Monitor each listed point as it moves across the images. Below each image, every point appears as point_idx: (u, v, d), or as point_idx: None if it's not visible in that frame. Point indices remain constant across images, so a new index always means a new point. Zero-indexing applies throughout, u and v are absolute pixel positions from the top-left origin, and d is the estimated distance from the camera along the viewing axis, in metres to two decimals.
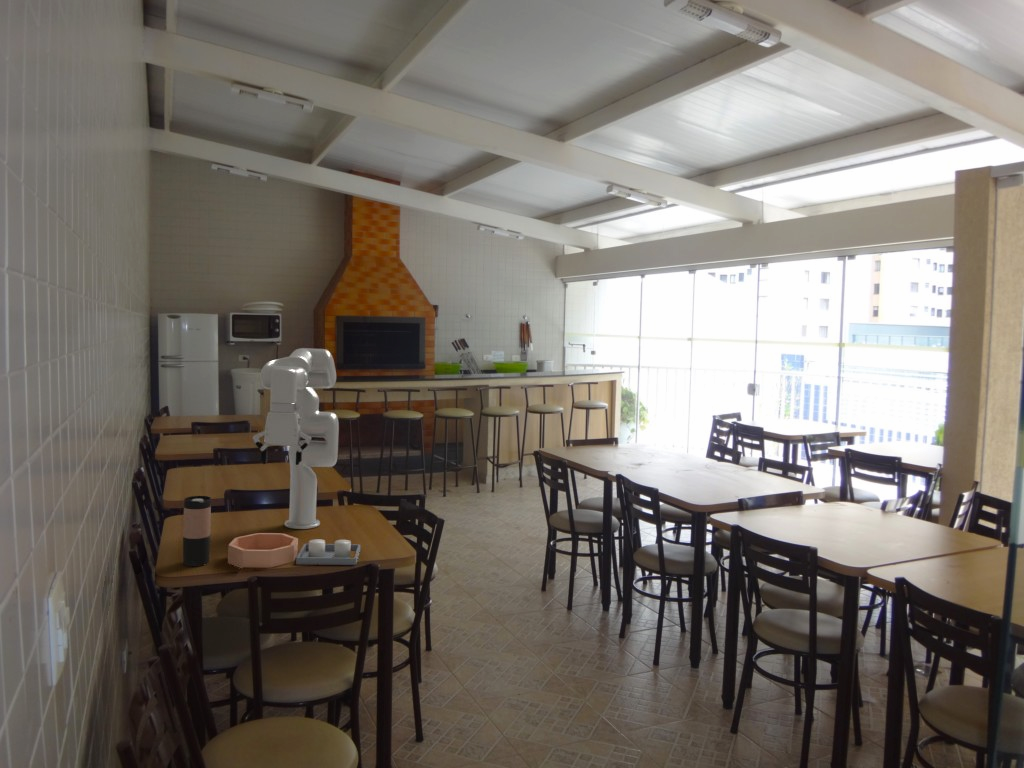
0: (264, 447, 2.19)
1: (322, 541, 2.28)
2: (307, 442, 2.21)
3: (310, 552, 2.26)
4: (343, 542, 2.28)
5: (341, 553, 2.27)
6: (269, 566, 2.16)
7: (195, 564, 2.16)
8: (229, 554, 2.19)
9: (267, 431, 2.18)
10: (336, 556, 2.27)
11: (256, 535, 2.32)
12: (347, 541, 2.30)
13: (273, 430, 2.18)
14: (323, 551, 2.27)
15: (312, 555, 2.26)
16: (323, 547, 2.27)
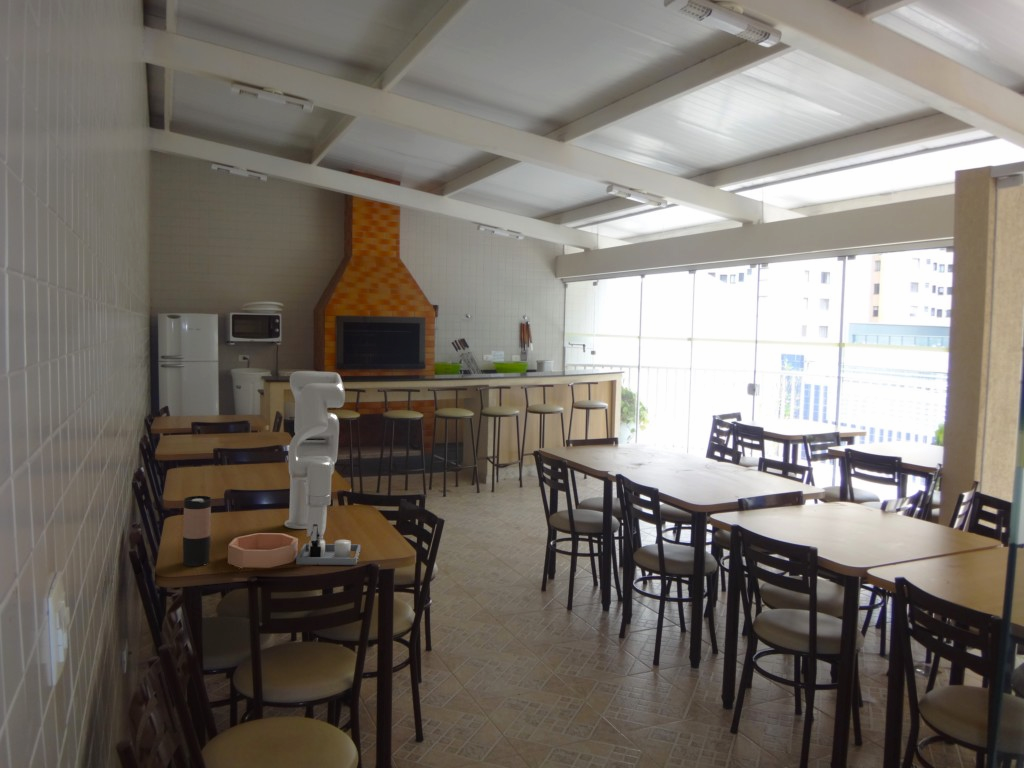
0: None
1: (322, 541, 2.28)
2: None
3: None
4: (343, 542, 2.28)
5: (341, 553, 2.27)
6: (269, 566, 2.16)
7: (195, 564, 2.16)
8: (229, 554, 2.19)
9: (322, 524, 2.24)
10: (336, 556, 2.27)
11: (256, 535, 2.32)
12: (347, 541, 2.30)
13: (324, 522, 2.26)
14: (323, 551, 2.27)
15: None
16: (323, 547, 2.27)
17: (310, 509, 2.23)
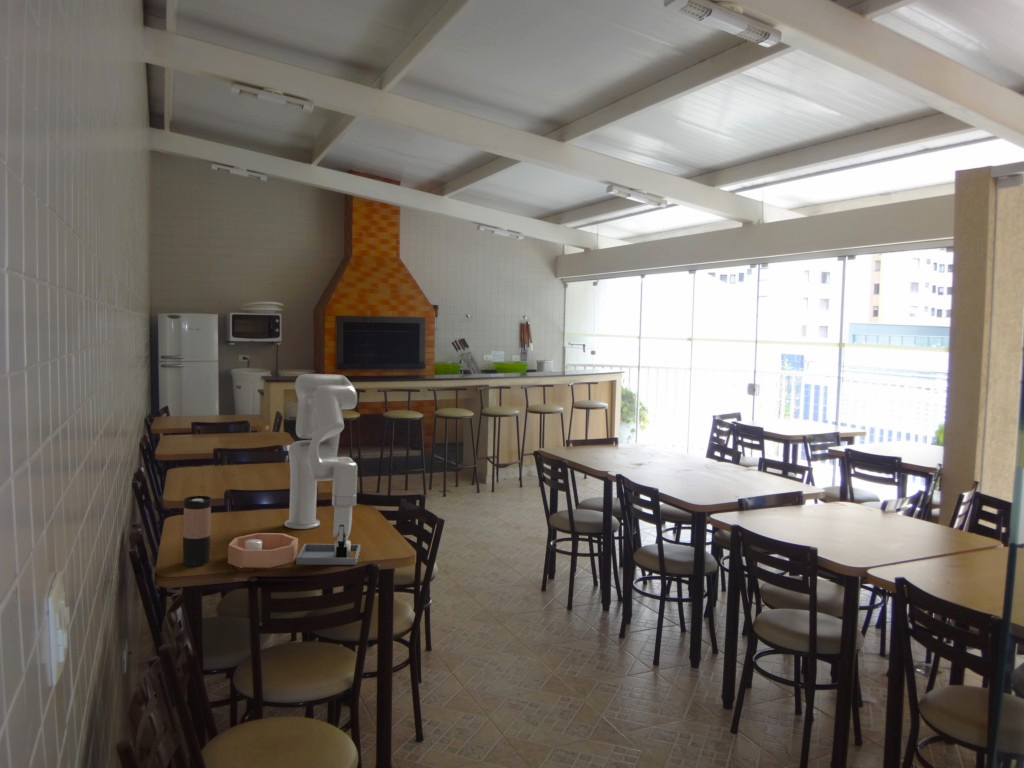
0: None
1: (259, 541, 2.25)
2: None
3: None
4: None
5: None
6: (269, 566, 2.16)
7: (195, 564, 2.16)
8: (229, 554, 2.19)
9: (349, 525, 2.25)
10: None
11: (256, 535, 2.32)
12: (347, 541, 2.30)
13: (350, 522, 2.27)
14: None
15: None
16: (260, 547, 2.24)
17: (336, 510, 2.24)
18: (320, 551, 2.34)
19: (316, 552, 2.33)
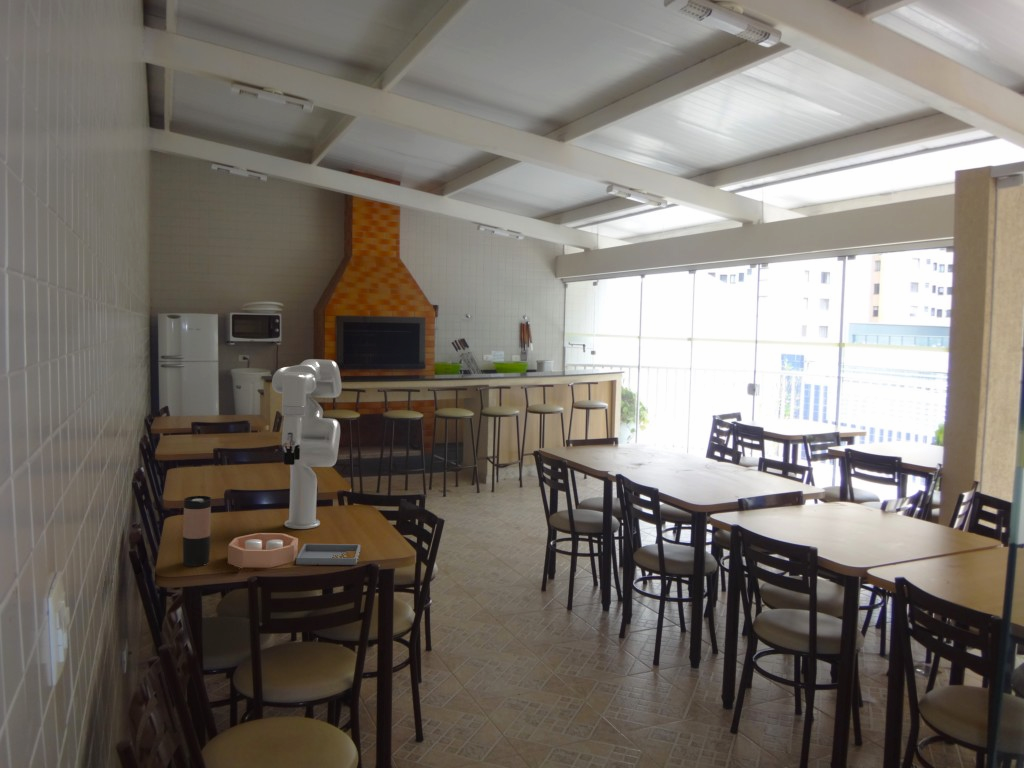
0: (293, 449, 2.35)
1: (259, 541, 2.25)
2: None
3: None
4: (275, 542, 2.25)
5: None
6: (269, 566, 2.16)
7: (195, 564, 2.16)
8: (229, 554, 2.19)
9: (297, 433, 2.36)
10: None
11: (256, 535, 2.32)
12: (279, 541, 2.26)
13: (299, 431, 2.37)
14: None
15: None
16: (260, 547, 2.24)
17: (285, 418, 2.35)
18: (320, 551, 2.34)
19: (316, 552, 2.33)
